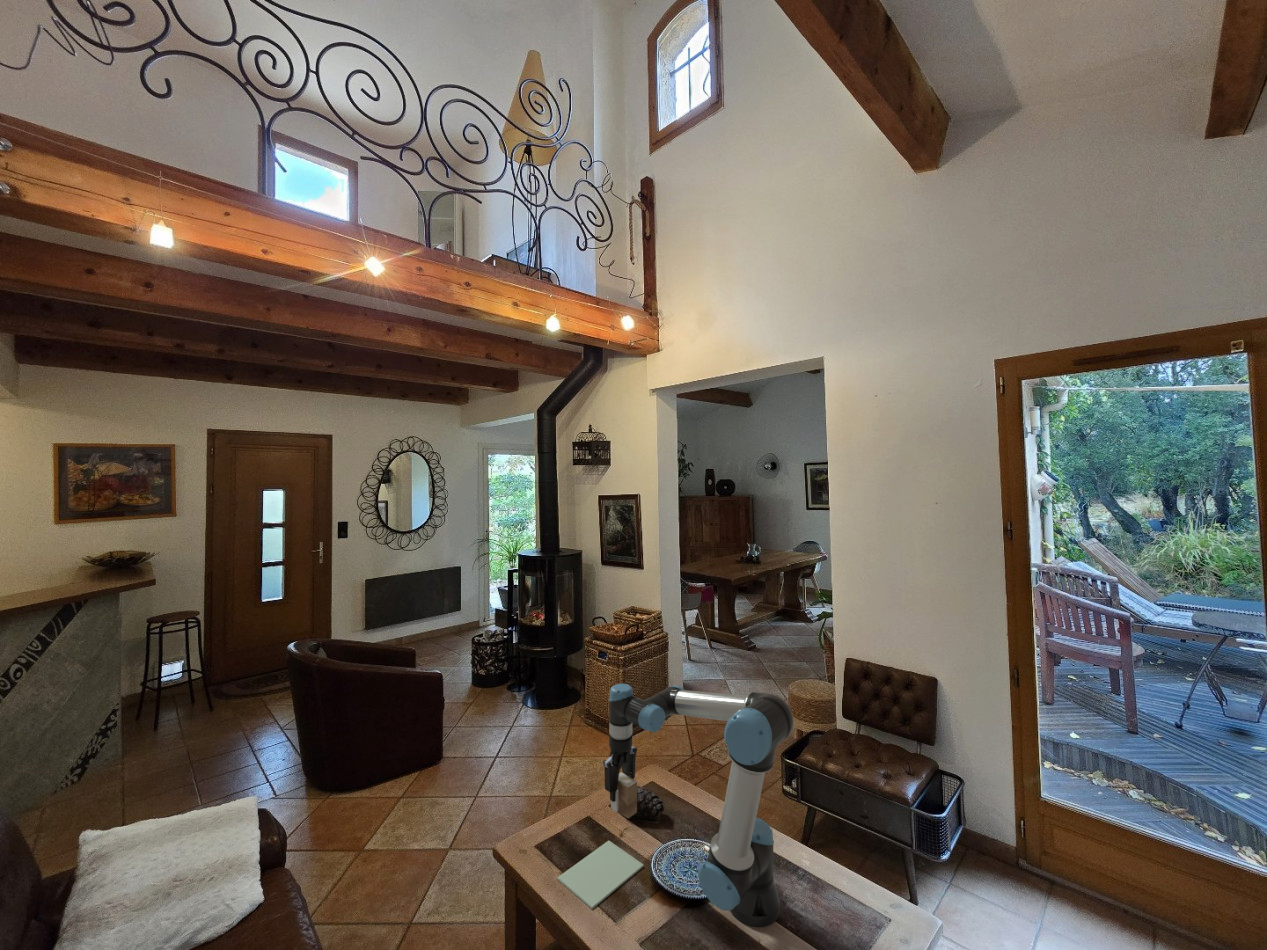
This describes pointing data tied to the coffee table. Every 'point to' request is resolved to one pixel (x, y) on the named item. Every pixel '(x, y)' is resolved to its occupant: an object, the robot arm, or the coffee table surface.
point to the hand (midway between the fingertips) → (619, 806)
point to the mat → (600, 873)
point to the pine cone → (648, 806)
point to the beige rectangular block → (627, 795)
